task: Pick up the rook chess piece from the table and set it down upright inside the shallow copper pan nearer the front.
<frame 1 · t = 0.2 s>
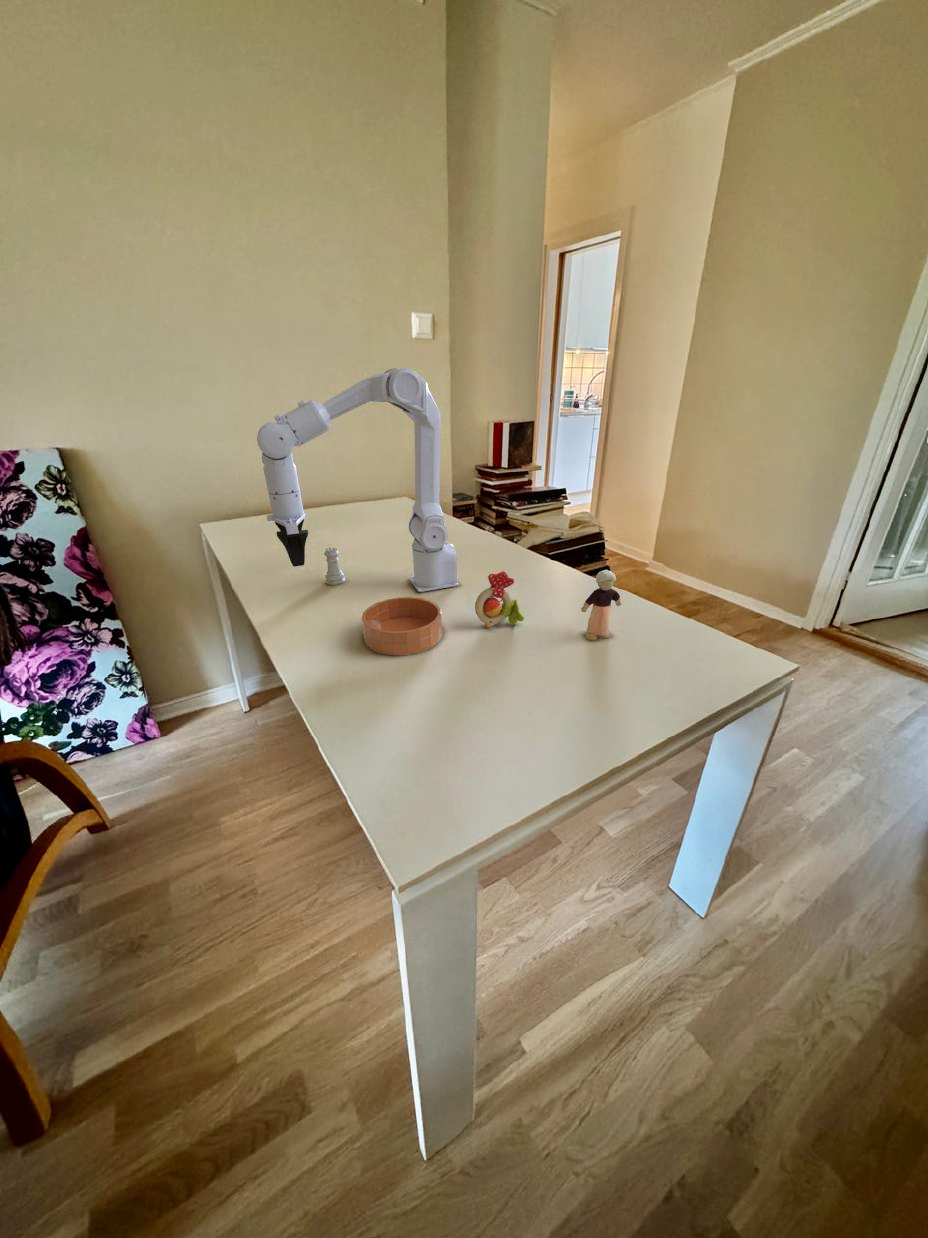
hand: (297, 559, 97), 10 cm above the table, tool pointing down, fingers open, 7 cm apart
rook chess piece: (335, 582, 112), on the table
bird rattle: (498, 625, 92), on the table
grandmother figurine: (598, 636, 88), on the table
pan: (403, 635, 89), on the table
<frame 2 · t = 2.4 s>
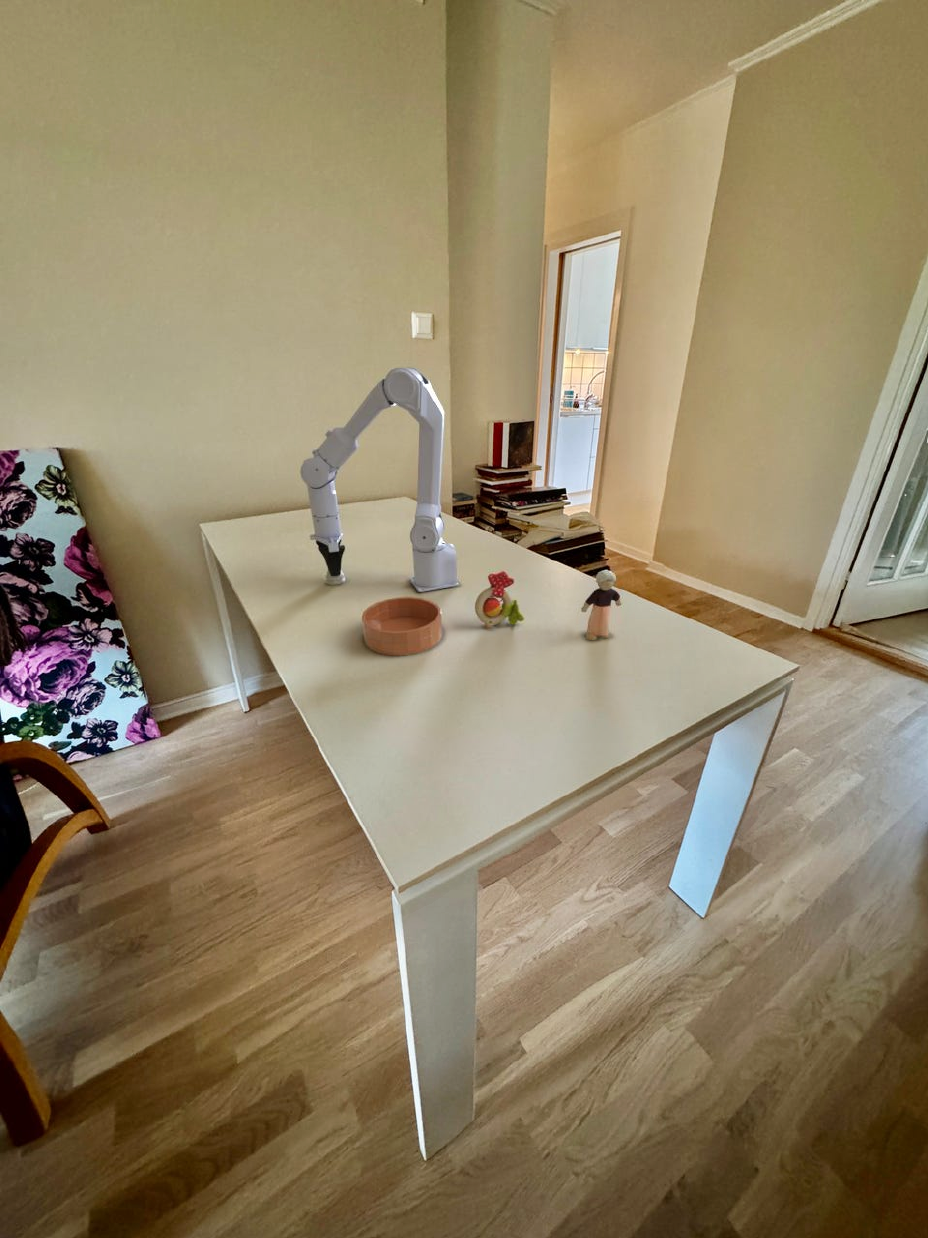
hand: (334, 572, 111), 2 cm above the table, tool pointing down, fingers closed on rook chess piece, 3 cm apart
rook chess piece: (336, 582, 112), on the table, touching gripper
everything else where it was.
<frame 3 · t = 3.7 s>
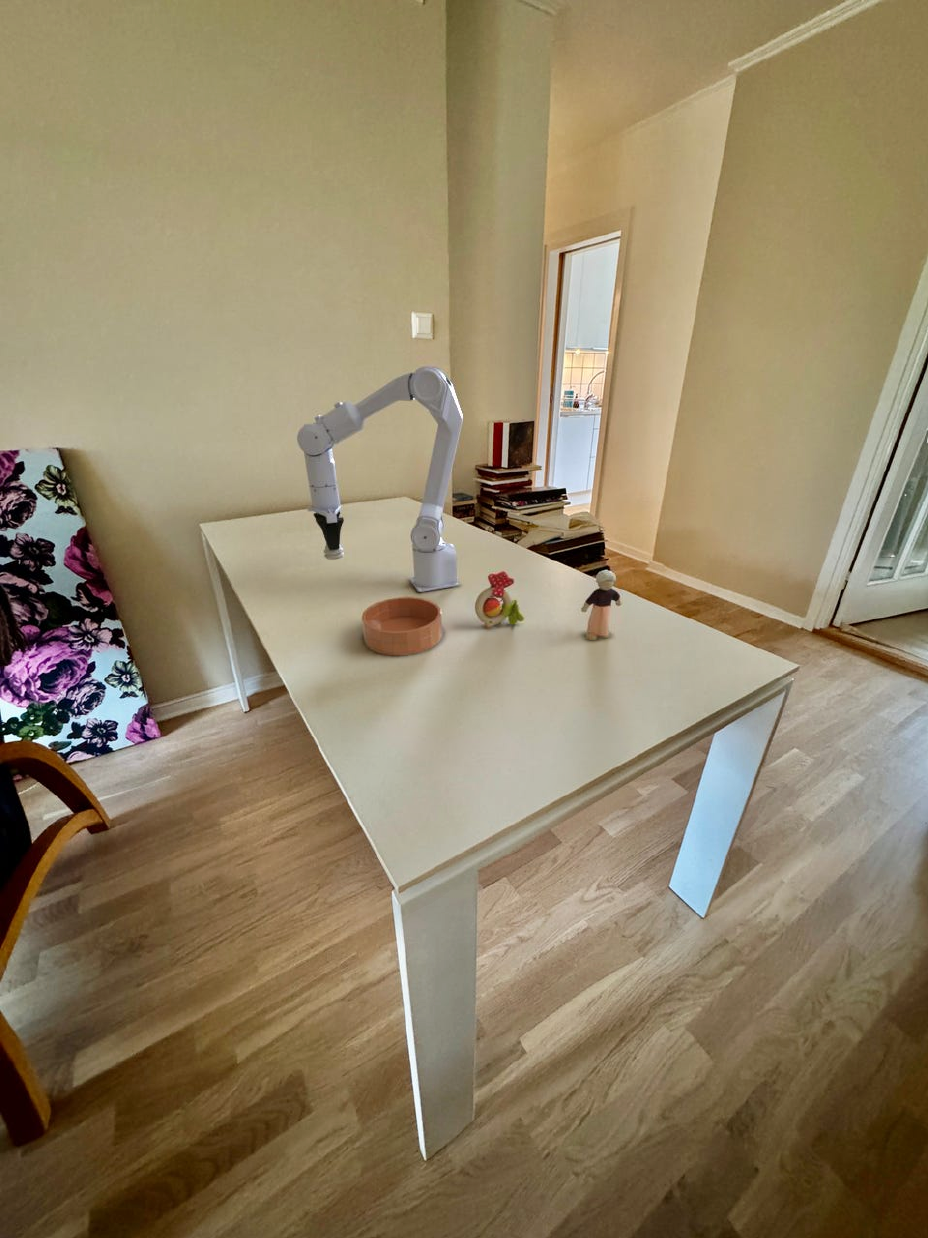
hand: (332, 546, 107), 9 cm above the table, tool pointing down, fingers closed on rook chess piece, 3 cm apart
rook chess piece: (334, 557, 108), point 6 cm above the table, touching gripper
everything else where it was.
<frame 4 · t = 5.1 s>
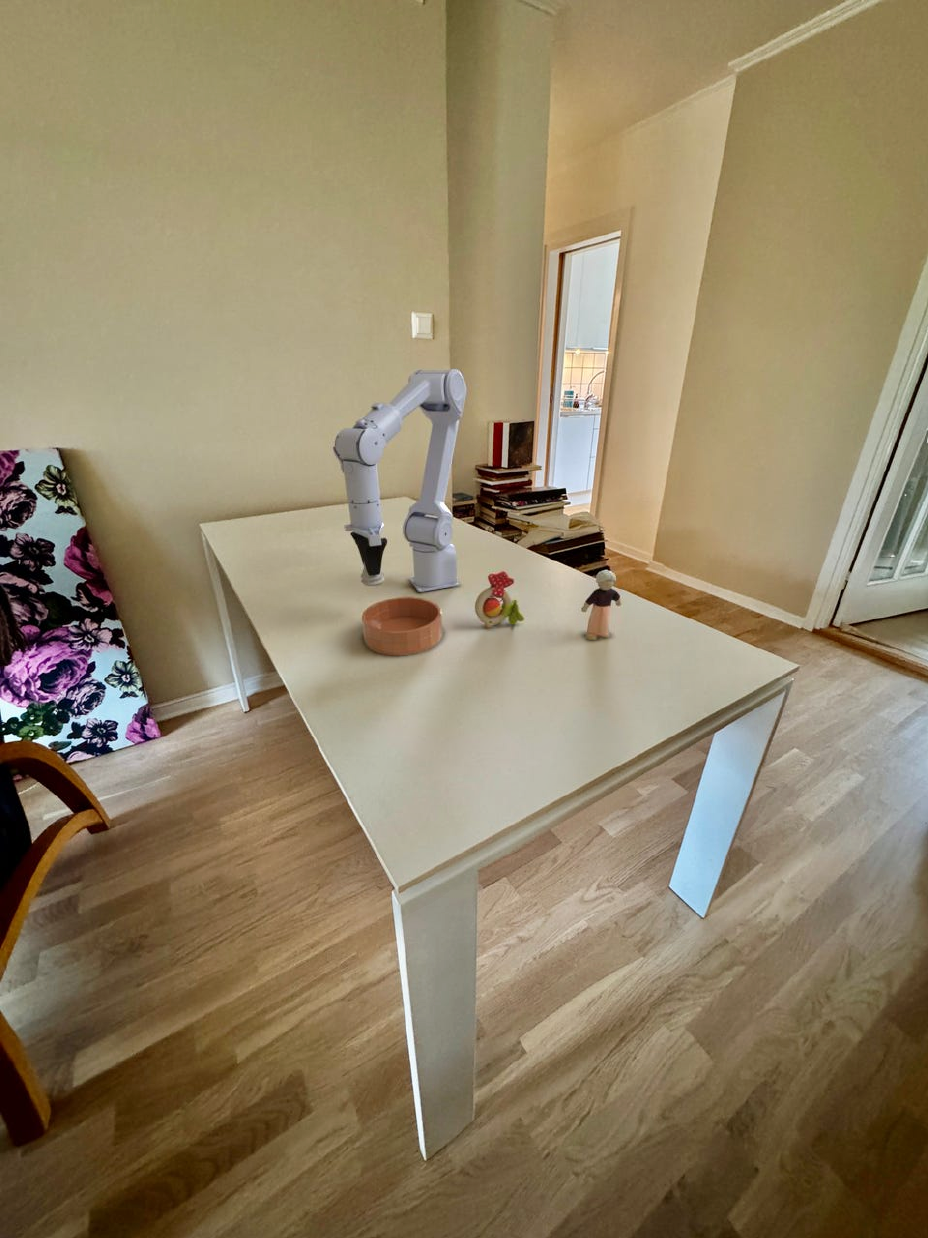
hand: (372, 570, 92), 9 cm above the table, tool pointing down, fingers closed on rook chess piece, 3 cm apart
rook chess piece: (372, 583, 93), point 7 cm above the table, touching gripper
everything else where it was.
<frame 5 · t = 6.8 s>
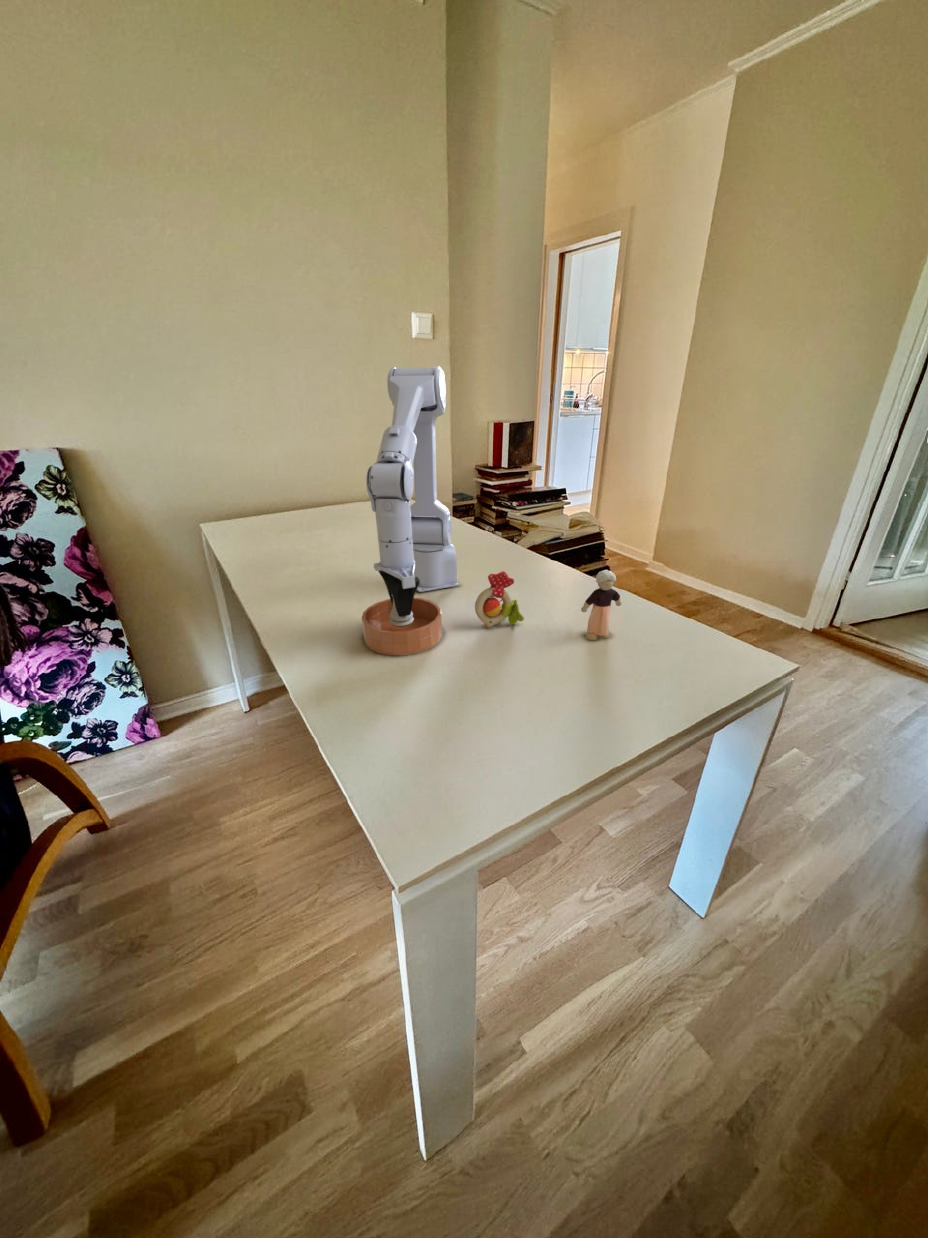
hand: (401, 610, 86), 5 cm above the table, tool pointing down, fingers closed on rook chess piece, 3 cm apart
rook chess piece: (402, 623, 87), point 3 cm above the table, touching gripper
everything else where it was.
when the fingers open (3 cm above the table, at t = 7.9 s): rook chess piece stays where it is, resting on pan.
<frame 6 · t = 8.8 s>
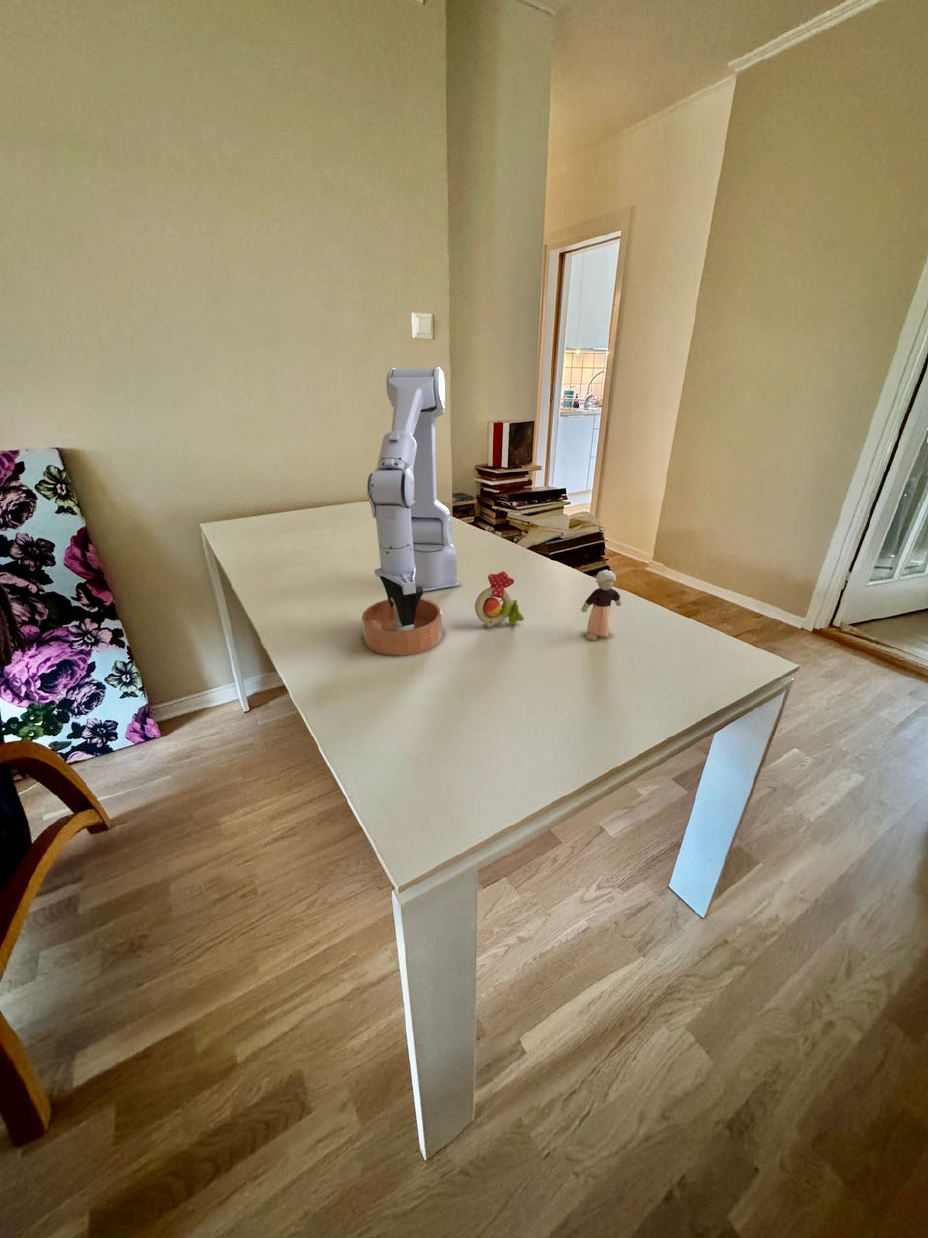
hand: (402, 615, 87), 4 cm above the table, tool pointing down, fingers open, 7 cm apart
rook chess piece: (402, 634, 88), resting on pan
everything else where it was.
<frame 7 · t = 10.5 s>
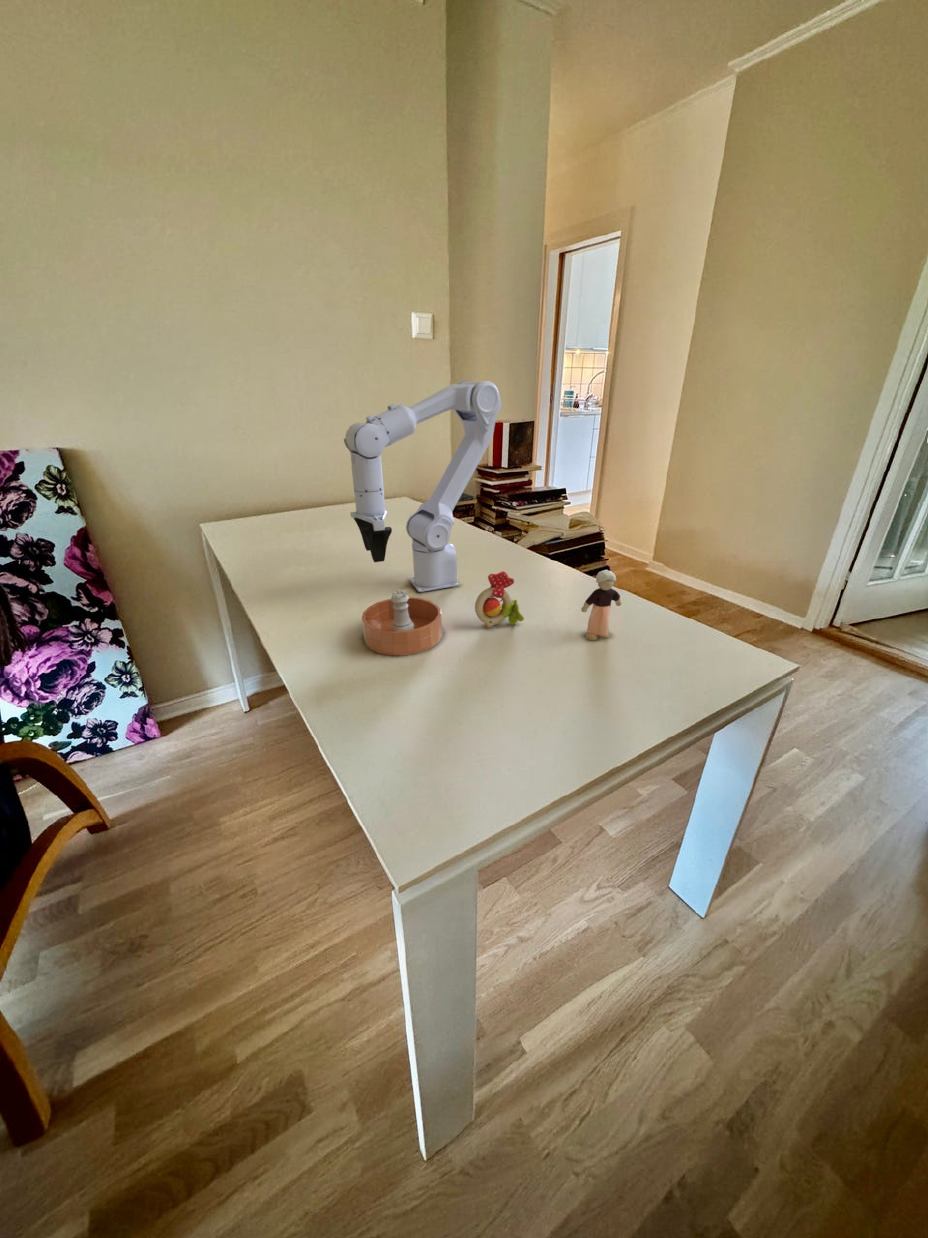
hand: (374, 555, 100), 9 cm above the table, tool pointing down, fingers open, 7 cm apart
nothing on the table moved.
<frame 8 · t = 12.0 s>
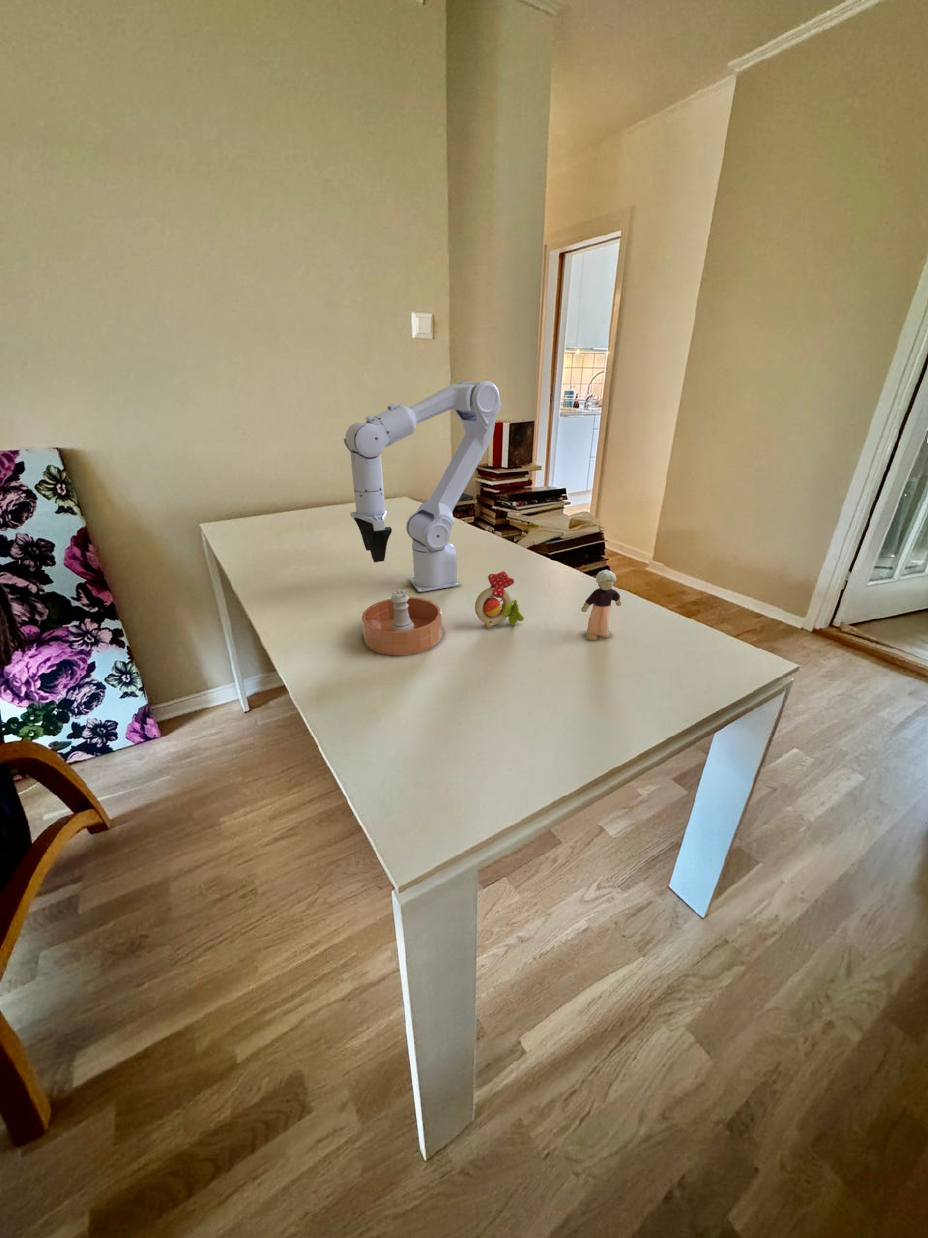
hand: (374, 555, 100), 9 cm above the table, tool pointing down, fingers open, 7 cm apart
nothing on the table moved.
at the end: rook chess piece inside the target area in the pan (0.1 cm from its centre), point 0.3 cm above the pan's base; rook chess piece tilted 0° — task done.
